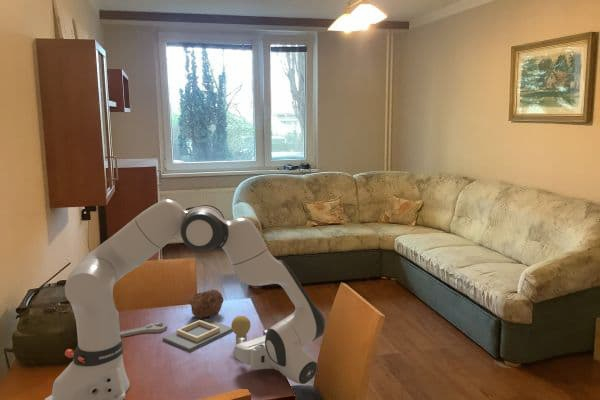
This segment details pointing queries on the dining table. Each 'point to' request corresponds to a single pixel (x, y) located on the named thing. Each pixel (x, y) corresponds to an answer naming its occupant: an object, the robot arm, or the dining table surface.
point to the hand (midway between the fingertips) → (252, 336)
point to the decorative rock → (206, 303)
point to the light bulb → (240, 327)
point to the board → (197, 334)
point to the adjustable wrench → (145, 329)
